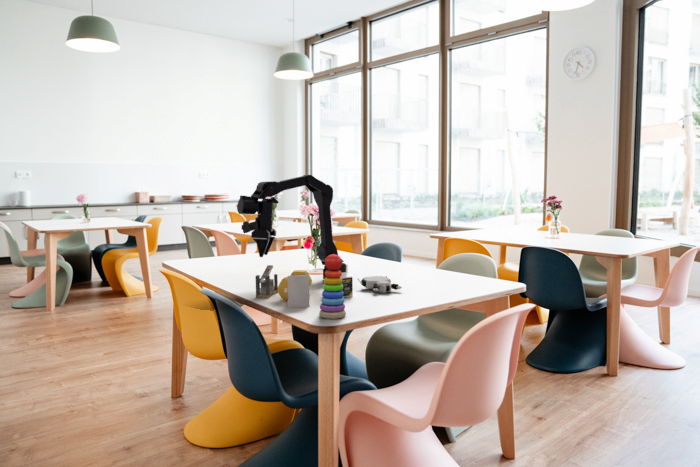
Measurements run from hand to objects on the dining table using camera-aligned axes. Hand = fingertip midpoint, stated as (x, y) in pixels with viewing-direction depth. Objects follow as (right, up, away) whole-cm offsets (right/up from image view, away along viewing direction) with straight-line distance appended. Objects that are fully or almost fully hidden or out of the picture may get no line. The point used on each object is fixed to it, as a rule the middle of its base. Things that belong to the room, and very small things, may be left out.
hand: (263, 255), depth 196 cm
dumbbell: (+13, -14, -11) cm, 23 cm away
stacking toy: (+28, -17, -41) cm, 52 cm away
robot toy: (+44, -13, -3) cm, 46 cm away
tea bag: (+16, -15, -27) cm, 35 cm away
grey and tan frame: (+3, -14, -10) cm, 17 cm away
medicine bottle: (+29, -14, -11) cm, 34 cm away
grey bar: (+3, -7, -11) cm, 13 cm away
